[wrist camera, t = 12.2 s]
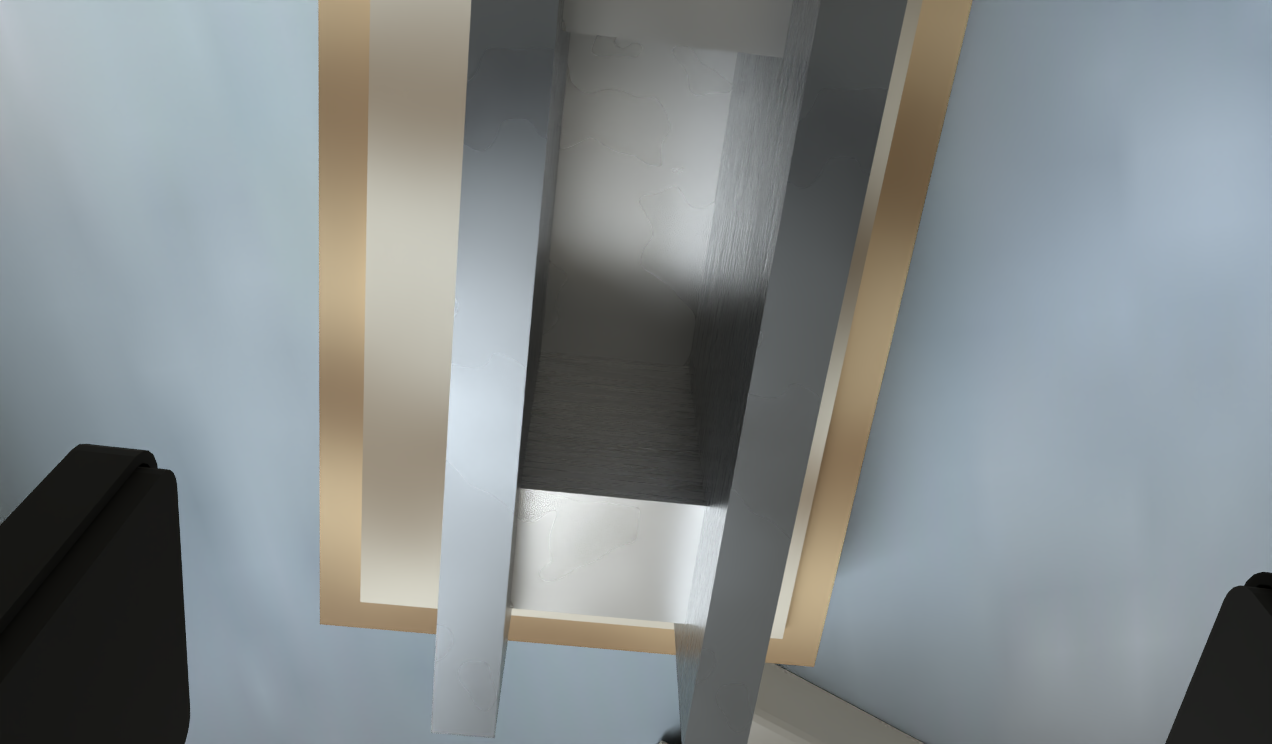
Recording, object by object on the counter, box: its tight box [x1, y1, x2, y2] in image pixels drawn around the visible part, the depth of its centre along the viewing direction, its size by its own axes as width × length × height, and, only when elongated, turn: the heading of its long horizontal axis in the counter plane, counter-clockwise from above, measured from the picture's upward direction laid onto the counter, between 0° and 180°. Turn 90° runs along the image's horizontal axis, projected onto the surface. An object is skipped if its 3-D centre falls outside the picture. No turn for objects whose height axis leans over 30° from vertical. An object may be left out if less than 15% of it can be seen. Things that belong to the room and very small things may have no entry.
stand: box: [319, 0, 973, 667], centre depth 24 cm, size 24×12×3 cm, turn 173°
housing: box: [431, 0, 908, 744], centre depth 19 cm, size 5×14×8 cm, turn 173°
